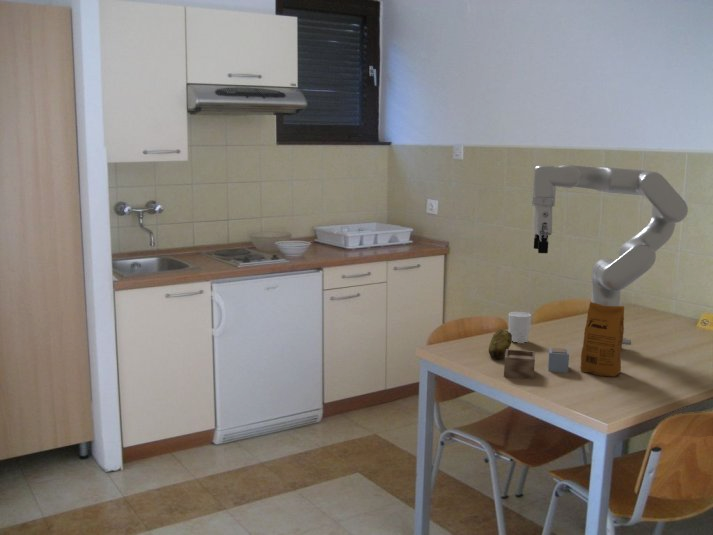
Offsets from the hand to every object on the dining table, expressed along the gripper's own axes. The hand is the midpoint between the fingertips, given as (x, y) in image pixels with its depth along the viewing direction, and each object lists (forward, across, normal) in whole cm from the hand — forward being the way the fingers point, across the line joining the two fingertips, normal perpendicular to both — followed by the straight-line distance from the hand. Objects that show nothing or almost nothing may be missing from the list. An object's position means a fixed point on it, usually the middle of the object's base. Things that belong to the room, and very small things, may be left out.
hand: (540, 250), depth 258 cm
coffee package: (+34, -28, -16) cm, 47 cm away
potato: (+34, -14, +14) cm, 40 cm away
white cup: (+34, +5, +5) cm, 35 cm away
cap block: (+34, -27, -3) cm, 43 cm away
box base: (+34, -33, +10) cm, 48 cm away
